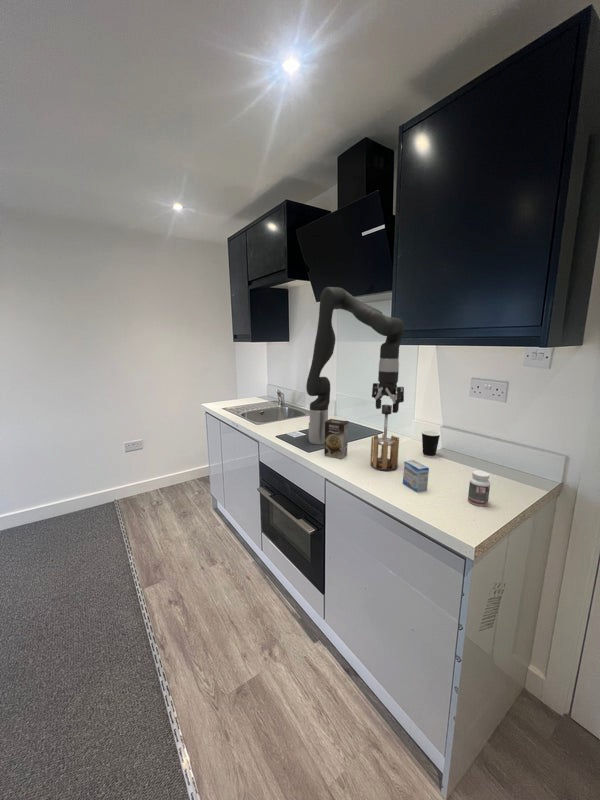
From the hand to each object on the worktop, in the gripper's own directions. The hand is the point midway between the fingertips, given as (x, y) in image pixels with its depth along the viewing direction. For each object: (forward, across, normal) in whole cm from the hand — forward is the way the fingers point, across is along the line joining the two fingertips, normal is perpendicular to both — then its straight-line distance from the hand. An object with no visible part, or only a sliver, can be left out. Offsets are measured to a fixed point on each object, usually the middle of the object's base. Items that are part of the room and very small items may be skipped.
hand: (386, 410), depth 126 cm
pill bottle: (+24, +37, +3) cm, 44 cm away
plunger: (+13, 0, 0) cm, 13 cm away
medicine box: (+24, +19, -5) cm, 31 cm away
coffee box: (+24, -20, -9) cm, 32 cm away
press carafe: (+23, 0, +1) cm, 24 cm away
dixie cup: (+24, +3, +26) cm, 35 cm away
